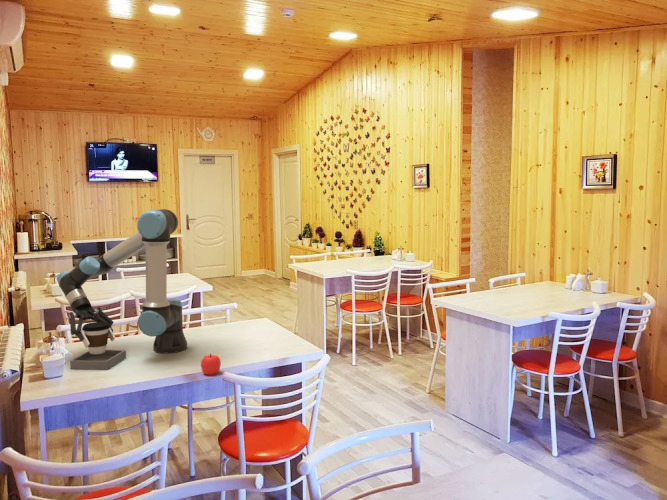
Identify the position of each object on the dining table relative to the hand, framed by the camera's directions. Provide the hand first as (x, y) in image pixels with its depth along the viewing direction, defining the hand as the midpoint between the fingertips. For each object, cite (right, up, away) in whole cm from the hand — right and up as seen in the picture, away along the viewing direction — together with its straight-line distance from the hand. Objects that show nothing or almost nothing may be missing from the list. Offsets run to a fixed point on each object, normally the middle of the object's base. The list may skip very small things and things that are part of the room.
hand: (100, 342), depth 228 cm
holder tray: (-2, -9, +3) cm, 10 cm away
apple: (+49, -11, -11) cm, 51 cm away
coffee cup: (-2, -5, +2) cm, 6 cm away
